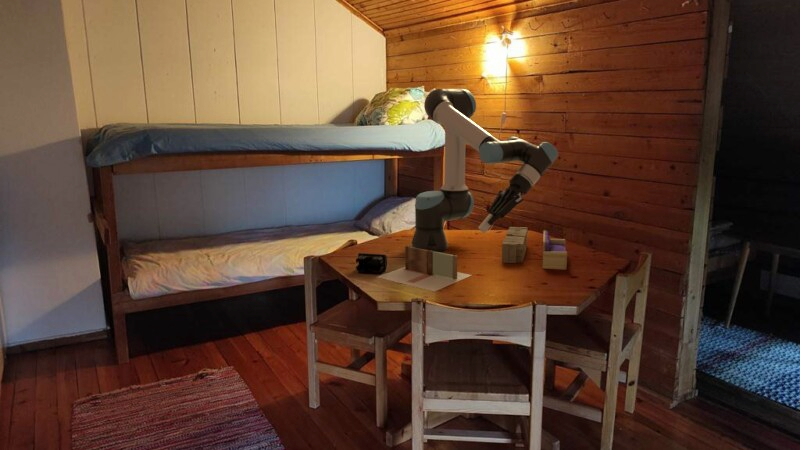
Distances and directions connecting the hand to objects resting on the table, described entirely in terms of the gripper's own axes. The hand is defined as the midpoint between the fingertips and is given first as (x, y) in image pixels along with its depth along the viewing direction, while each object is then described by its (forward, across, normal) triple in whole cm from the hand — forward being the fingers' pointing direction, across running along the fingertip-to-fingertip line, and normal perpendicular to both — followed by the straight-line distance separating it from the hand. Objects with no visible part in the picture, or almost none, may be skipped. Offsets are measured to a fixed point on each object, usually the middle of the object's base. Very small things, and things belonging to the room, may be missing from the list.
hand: (481, 230), depth 197 cm
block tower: (-7, +19, -30) cm, 36 cm away
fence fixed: (+25, +9, +3) cm, 27 cm away
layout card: (+25, +4, +3) cm, 26 cm away
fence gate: (+20, -1, -1) cm, 20 cm away
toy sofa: (-12, +3, -35) cm, 37 cm away
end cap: (+36, +16, +14) cm, 42 cm away
